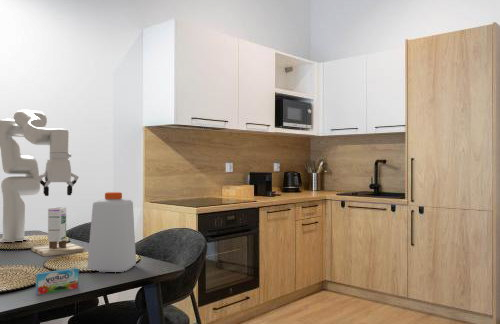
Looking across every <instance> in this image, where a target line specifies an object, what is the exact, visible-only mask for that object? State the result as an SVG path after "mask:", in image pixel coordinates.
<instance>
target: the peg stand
mask: <svg viewBox="0 0 500 324" xmlns="http://www.w3.org/2000/svg"><path fill="white" fill-rule="evenodd" d="M48 243H49V244H46V245H36V246H35V245H34V246H30V251H32V252H34V253H36V254H38V255H40V256H42V257H49V256H58V255H59V256H60V255H67V254H76V253H77V254H78V253H84V252H85V247H82V246H79V245H78V244H74V243H72V242H67V239H66V240H63V241H61V242H50V241H48ZM83 251H84V252H83Z"/></svg>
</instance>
